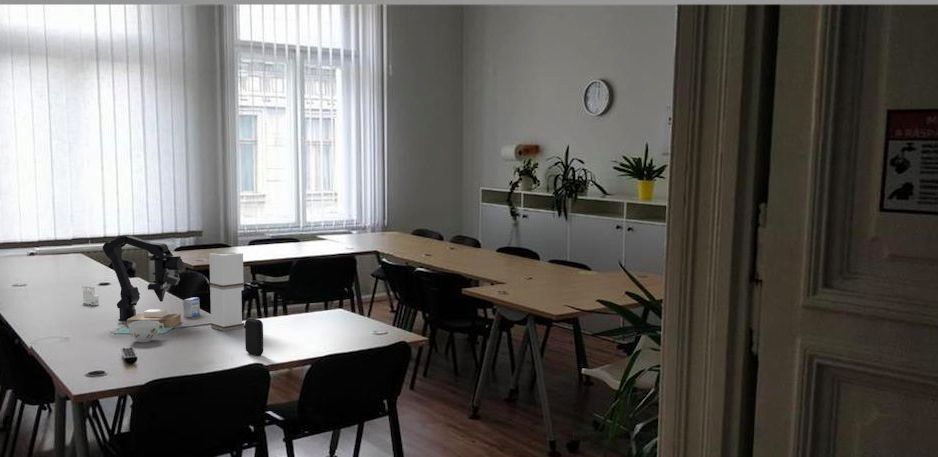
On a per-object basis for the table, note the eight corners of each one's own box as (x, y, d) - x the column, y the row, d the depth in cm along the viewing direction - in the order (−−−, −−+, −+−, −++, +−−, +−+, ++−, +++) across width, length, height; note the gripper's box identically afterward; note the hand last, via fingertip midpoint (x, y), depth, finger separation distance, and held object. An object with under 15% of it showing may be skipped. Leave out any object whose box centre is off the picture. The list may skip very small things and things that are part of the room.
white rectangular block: (143, 317, 373) (143, 311, 373) (148, 314, 379) (148, 309, 379) (162, 317, 373) (162, 311, 373) (167, 314, 379) (167, 309, 379)
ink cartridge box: (87, 303, 430) (86, 285, 429) (99, 305, 424) (98, 287, 424) (82, 303, 428) (82, 285, 427) (94, 305, 422) (94, 287, 421)
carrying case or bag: (242, 353, 322) (241, 317, 320) (248, 351, 324) (247, 316, 323) (259, 357, 315) (258, 320, 314) (265, 355, 318) (264, 319, 317)
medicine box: (191, 317, 393) (191, 300, 392) (183, 316, 394) (182, 299, 393) (199, 314, 401) (199, 297, 400) (191, 313, 402) (191, 297, 401)
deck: (127, 328, 367) (126, 319, 367) (139, 321, 381) (138, 313, 381) (170, 328, 368) (170, 319, 367) (180, 322, 382) (180, 313, 381)
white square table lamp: (244, 327, 370) (242, 253, 367) (223, 331, 362) (222, 255, 359) (231, 324, 378) (230, 251, 375) (211, 327, 370) (209, 253, 367)
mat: (113, 333, 355) (113, 333, 355) (124, 328, 367) (124, 327, 367) (162, 333, 356) (162, 333, 356) (172, 328, 368) (172, 327, 368)
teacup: (135, 345, 333) (134, 327, 332) (124, 340, 342) (123, 322, 341) (170, 340, 343) (169, 322, 343) (158, 335, 352) (158, 317, 352)
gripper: (170, 272, 373) (171, 305, 374) (184, 267, 392) (184, 298, 393) (146, 272, 373) (147, 305, 374) (161, 266, 391) (162, 298, 393)
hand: (161, 301), depth 384 cm, fingers closed
